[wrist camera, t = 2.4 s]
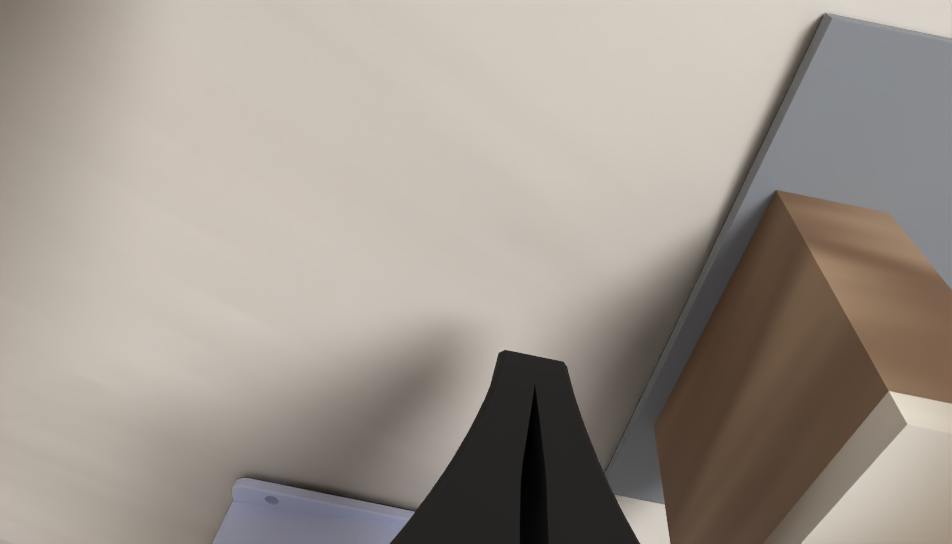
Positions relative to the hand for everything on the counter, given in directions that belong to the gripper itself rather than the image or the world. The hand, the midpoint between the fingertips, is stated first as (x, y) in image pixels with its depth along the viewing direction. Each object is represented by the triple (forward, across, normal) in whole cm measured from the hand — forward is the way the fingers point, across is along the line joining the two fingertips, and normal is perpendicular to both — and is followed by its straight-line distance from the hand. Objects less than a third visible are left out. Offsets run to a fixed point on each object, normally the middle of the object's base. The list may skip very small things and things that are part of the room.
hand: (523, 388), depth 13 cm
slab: (+3, -6, 0) cm, 7 cm away
